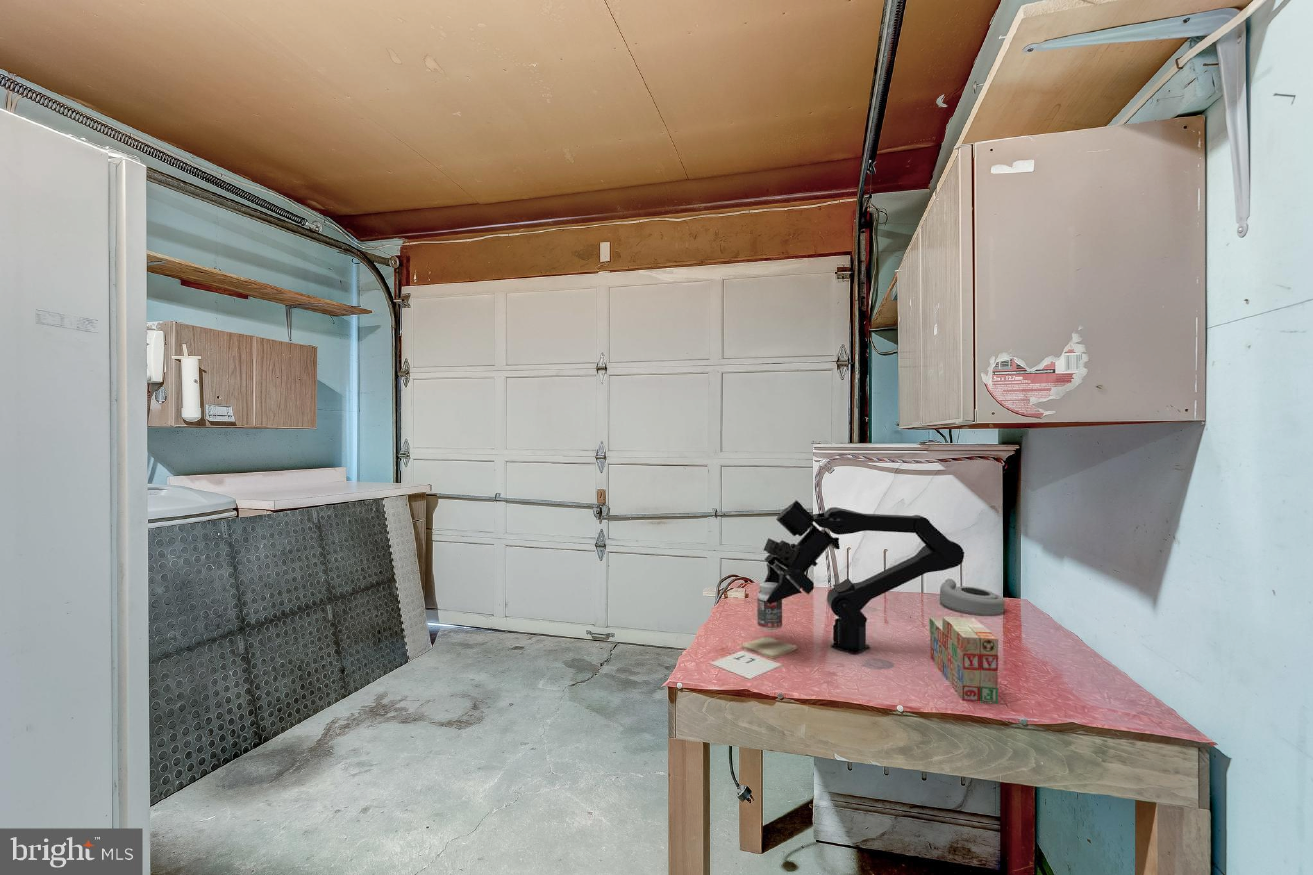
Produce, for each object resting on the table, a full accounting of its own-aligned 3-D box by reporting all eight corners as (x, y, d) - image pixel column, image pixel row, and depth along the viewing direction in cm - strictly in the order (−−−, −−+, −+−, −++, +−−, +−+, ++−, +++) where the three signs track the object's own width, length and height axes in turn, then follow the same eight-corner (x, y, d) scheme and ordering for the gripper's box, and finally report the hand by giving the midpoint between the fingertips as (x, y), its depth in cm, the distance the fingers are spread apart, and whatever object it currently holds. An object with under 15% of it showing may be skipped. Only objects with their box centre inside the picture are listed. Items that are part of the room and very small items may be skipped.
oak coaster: (796, 648, 134) (796, 646, 134) (773, 658, 128) (773, 655, 128) (765, 638, 140) (765, 636, 140) (741, 647, 134) (741, 645, 134)
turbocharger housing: (998, 624, 155) (1007, 611, 167) (1000, 601, 155) (1009, 589, 167) (931, 608, 166) (944, 597, 178) (932, 586, 166) (946, 576, 177)
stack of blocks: (929, 658, 128) (929, 603, 128) (959, 660, 127) (959, 604, 127) (962, 701, 107) (962, 635, 107) (999, 704, 106) (998, 637, 106)
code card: (782, 665, 124) (782, 664, 124) (749, 679, 117) (749, 678, 117) (742, 651, 132) (742, 650, 132) (710, 663, 125) (710, 663, 125)
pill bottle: (768, 632, 130) (768, 588, 130) (752, 625, 135) (751, 583, 135) (787, 627, 133) (786, 585, 133) (770, 621, 138) (770, 580, 138)
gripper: (771, 521, 144) (729, 567, 143) (799, 533, 125) (750, 585, 124) (802, 551, 145) (760, 597, 143) (834, 567, 126) (786, 620, 125)
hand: (763, 599), depth 134 cm, fingers closed on pill bottle, 6 cm apart
